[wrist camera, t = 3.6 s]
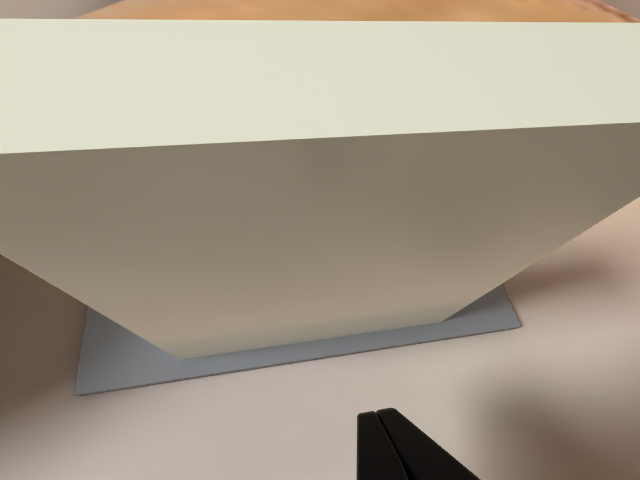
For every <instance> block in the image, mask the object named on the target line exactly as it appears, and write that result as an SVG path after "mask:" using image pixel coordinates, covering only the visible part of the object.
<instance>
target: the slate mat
mask: <svg viewBox="0 0 640 480" xmlns="http://www.w3.org/2000/svg"><path fill="white" fill-rule="evenodd" d="M518 327H521V325H520V323H519V321H518V319H517V316H516V314H515V312H514V309H513V307H512V305H511V302H510V300H509V298H508V296H507V293H506V291H505V289H504V286H503V284H501V285H499V286H497V287H496V288H494V289H493V290H491V291H490V292H488V293H486V294H485V295H483V296H482V297H480V298H478V299H477V300H475V301H474V302H472V303H471V304H469V305H467V306H466V307H464V308H463V309H461V310H460V311H458V312H456V313H455V314H453V315H452V316H450V317H448V318H447V319H445V320H444V321H442V322H440V323H433V324H426V325H419V326H412V327H405V328H398V329H392V330H385V331H378V332H371V333H364V334H357V335H350V336H343V337H336V338H330V339H323V340H316V341H309V342H302V343H295V344H288V345H281V346H275V347H268V348H261V349H254V350H247V351H240V352H233V353H226V354H220V355H213V356H206V357H199V358H192V359H185V360H179V359H177V358H175V357H173V356H172V355H170V354H168V353H167V352H165V351H163V350H162V349H160V348H158V347H157V346H155V345H153V344H151V343H150V342H148V341H146V340H145V339H143V338H141V337H140V336H138V335H136V334H135V333H133V332H131V331H129V330H128V329H126V328H124V327H123V326H121V325H119V324H118V323H116V322H114V321H113V320H111V319H109V318H107V317H106V316H104V315H102V314H101V313H99V312H97V311H96V310H94V309H92V308H91V307H89V306H88V307H87V313H86V319H85V326H84V332H83V338H82V344H81V350H80V357H79V363H78V369H77V375H76V381H75V387H74V394H73V395H75V396H84V395H90V394H96V393H103V392H109V391H116V390H122V389H129V388H135V387H142V386H148V385H155V384H161V383H168V382H174V381H181V380H187V379H194V378H200V377H207V376H213V375H219V374H226V373H232V372H239V371H245V370H252V369H258V368H265V367H271V366H278V365H284V364H291V363H297V362H304V361H310V360H317V359H323V358H330V357H336V356H342V355H349V354H355V353H362V352H368V351H375V350H381V349H388V348H394V347H401V346H407V345H414V344H420V343H427V342H433V341H440V340H446V339H453V338H459V337H465V336H472V335H478V334H485V333H491V332H498V331H504V330H511V329H516V328H518Z"/></svg>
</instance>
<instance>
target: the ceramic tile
mask: <svg viewBox="0 0 640 480" xmlns="http://www.w3.org/2000/svg"><path fill="white" fill-rule="evenodd" d="M638 197H640V23H567V22H415V21H263V20H111V19H0V254H1V255H3V256H4V257H6V258H8V259H9V260H11V261H13V262H14V263H16V264H18V265H19V266H21V267H23V268H25V269H26V270H28V271H30V272H31V273H33V274H35V275H36V276H38V277H40V278H41V279H43V280H45V281H47V282H48V283H50V284H52V285H53V286H55V287H57V288H58V289H60V290H62V291H63V292H65V293H67V294H69V295H70V296H72V297H74V298H75V299H77V300H79V301H80V302H82V303H84V304H85V305H87V306H89V307H91V308H92V309H94V310H96V311H97V312H99V313H101V314H102V315H104V316H106V317H107V318H109V319H111V320H113V321H114V322H116V323H118V324H119V325H121V326H123V327H124V328H126V329H128V330H129V331H131V332H133V333H135V334H136V335H138V336H140V337H141V338H143V339H145V340H146V341H148V342H150V343H151V344H153V345H155V346H157V347H158V348H160V349H162V350H163V351H165V352H167V353H168V354H170V355H172V356H173V357H175V358H177V359H179V360H185V359H192V358H199V357H206V356H213V355H220V354H226V353H233V352H240V351H247V350H254V349H261V348H268V347H275V346H281V345H288V344H295V343H302V342H309V341H316V340H323V339H330V338H336V337H343V336H350V335H357V334H364V333H371V332H378V331H385V330H392V329H398V328H405V327H412V326H419V325H426V324H433V323H440V322H442V321H444V320H445V319H447V318H448V317H450V316H452V315H453V314H455V313H456V312H458V311H460V310H461V309H463V308H464V307H466V306H467V305H469V304H471V303H472V302H474V301H475V300H477V299H478V298H480V297H482V296H483V295H485V294H486V293H488V292H490V291H491V290H493V289H494V288H496V287H497V286H499V285H501V284H502V283H504V282H505V281H507V280H508V279H510V278H512V277H513V276H515V275H516V274H518V273H520V272H521V271H523V270H524V269H526V268H527V267H529V266H531V265H532V264H534V263H535V262H537V261H538V260H540V259H542V258H543V257H545V256H546V255H548V254H550V253H551V252H553V251H554V250H556V249H557V248H559V247H561V246H562V245H564V244H565V243H567V242H568V241H570V240H572V239H573V238H575V237H576V236H578V235H580V234H581V233H583V232H584V231H586V230H587V229H589V228H591V227H592V226H594V225H595V224H597V223H599V222H600V221H602V220H603V219H605V218H606V217H608V216H610V215H611V214H613V213H614V212H616V211H617V210H619V209H621V208H622V207H624V206H625V205H627V204H629V203H630V202H632V201H633V200H635V199H636V198H638Z"/></svg>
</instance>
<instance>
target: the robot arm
mask: <svg viewBox="0 0 640 480" xmlns="http://www.w3.org/2000/svg"><path fill="white" fill-rule="evenodd" d="M357 480H480V479H479V478H478V477H477V476H475V475H474V474H473V473H472V472H471V471H469V470H468V469H467V468H466V467H465V466H463V465H462V464H461V463H460V462H459V461H457V460H456V459H455V458H454V457H453V456H451V455H450V454H449V453H448V452H447V451H445V450H444V449H443V448H442V447H441V446H439V445H438V444H437V443H436V442H435V441H433V440H432V439H431V438H430V437H428V436H427V435H426V434H425V433H424V432H422V431H421V430H420V429H419V428H418V427H416V426H415V425H414V424H413V423H412V422H410V421H409V420H408V419H407V418H406V417H404V416H403V415H402V414H401V413H400V412H398V411H397V410H396V409H394V408H387V409H381V410H378V411H376V413H375V412H374V411H370V412H365V413H360V414H358V416H357Z"/></svg>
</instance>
